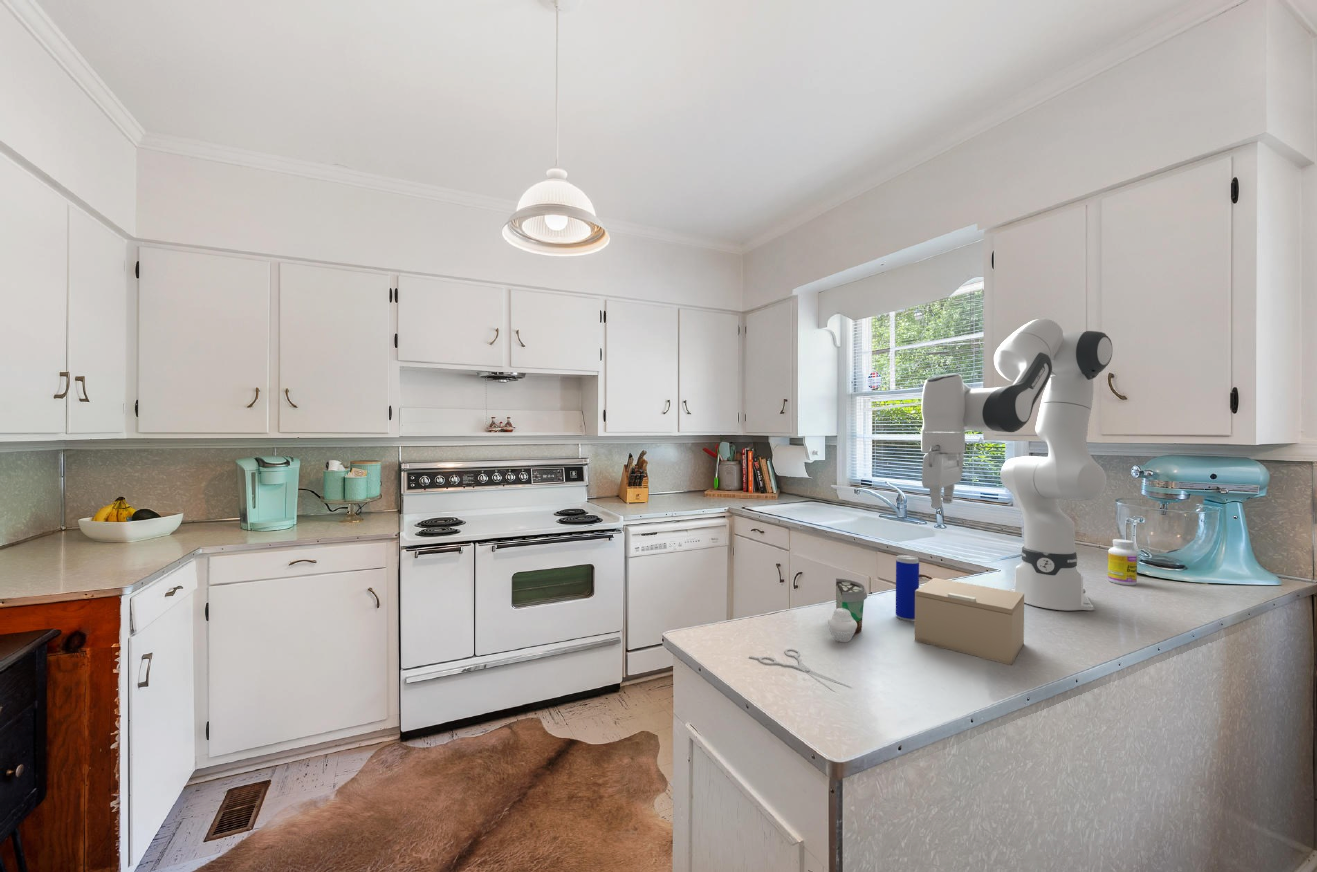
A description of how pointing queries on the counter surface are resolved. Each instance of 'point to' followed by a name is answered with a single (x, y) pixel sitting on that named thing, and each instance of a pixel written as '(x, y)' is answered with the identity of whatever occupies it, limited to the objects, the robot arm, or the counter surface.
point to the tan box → (970, 629)
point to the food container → (851, 599)
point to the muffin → (842, 625)
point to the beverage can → (906, 586)
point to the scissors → (800, 667)
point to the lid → (971, 595)
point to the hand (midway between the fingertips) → (942, 505)
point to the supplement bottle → (1122, 563)
